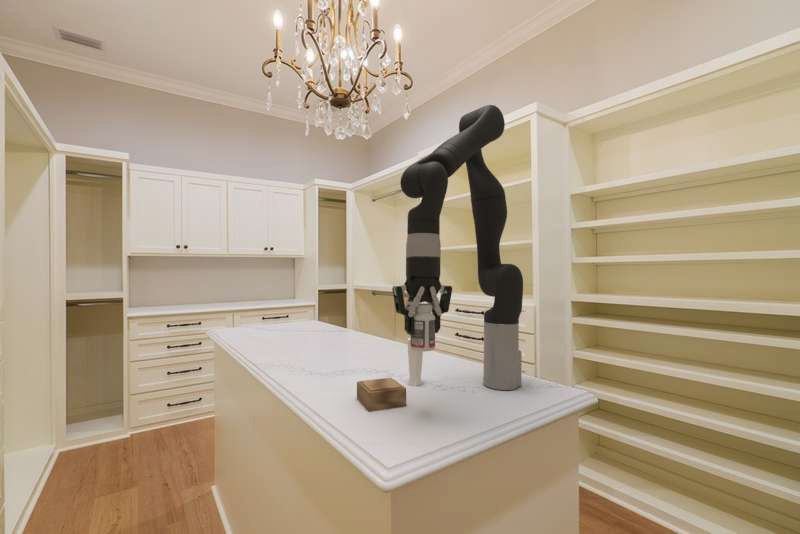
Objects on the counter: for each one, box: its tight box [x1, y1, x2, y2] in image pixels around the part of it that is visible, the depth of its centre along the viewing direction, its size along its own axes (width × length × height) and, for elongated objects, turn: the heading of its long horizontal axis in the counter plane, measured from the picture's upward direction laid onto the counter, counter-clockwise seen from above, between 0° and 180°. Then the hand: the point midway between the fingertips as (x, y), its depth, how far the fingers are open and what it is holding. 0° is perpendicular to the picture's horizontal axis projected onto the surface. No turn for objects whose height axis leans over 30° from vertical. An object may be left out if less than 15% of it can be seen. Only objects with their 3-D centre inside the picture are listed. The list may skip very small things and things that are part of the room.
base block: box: [356, 377, 407, 412], centre depth 86 cm, size 9×9×4 cm
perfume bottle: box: [407, 336, 424, 387], centre depth 101 cm, size 5×4×15 cm
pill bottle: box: [410, 303, 436, 352], centre depth 80 cm, size 5×5×10 cm
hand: (422, 332), depth 80 cm, fingers closed on pill bottle, 5 cm apart
